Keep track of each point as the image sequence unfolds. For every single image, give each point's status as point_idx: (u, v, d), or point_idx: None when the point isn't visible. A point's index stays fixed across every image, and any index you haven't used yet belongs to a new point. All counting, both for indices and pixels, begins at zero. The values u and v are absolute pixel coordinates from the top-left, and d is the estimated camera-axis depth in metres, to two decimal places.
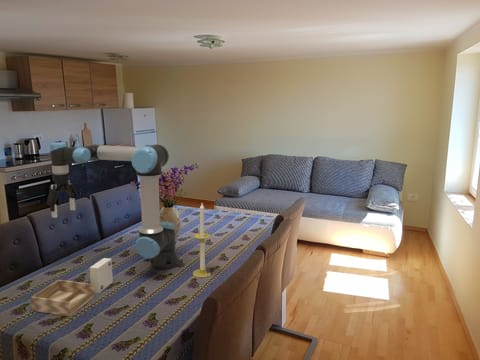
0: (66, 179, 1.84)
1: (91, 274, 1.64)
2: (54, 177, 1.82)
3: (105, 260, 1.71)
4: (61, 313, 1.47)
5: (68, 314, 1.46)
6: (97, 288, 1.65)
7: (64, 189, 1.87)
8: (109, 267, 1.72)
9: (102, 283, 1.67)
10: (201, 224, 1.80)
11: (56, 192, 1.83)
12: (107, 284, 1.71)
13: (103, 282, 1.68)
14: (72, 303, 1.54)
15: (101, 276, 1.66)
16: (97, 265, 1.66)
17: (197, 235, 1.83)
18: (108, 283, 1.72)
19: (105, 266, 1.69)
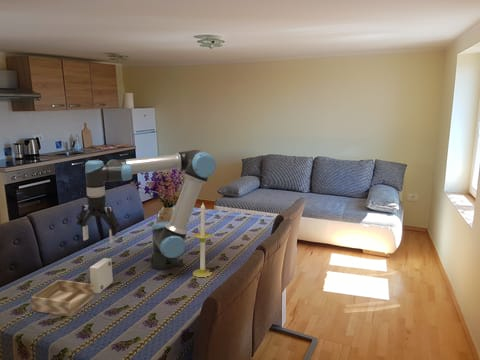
0: (90, 203, 1.59)
1: (91, 274, 1.64)
2: None
3: (105, 260, 1.71)
4: (61, 313, 1.47)
5: (68, 314, 1.46)
6: (97, 288, 1.65)
7: (96, 214, 1.63)
8: (109, 267, 1.72)
9: (102, 283, 1.67)
10: (202, 224, 1.80)
11: None
12: (107, 284, 1.71)
13: (103, 282, 1.68)
14: (72, 303, 1.54)
15: (101, 276, 1.66)
16: (97, 265, 1.66)
17: (198, 235, 1.83)
18: (108, 283, 1.72)
19: (105, 266, 1.69)
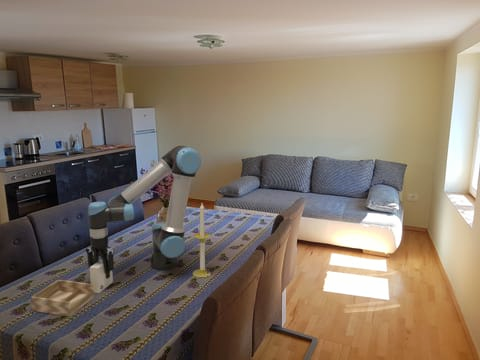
0: (93, 244, 1.63)
1: (91, 274, 1.64)
2: None
3: None
4: (61, 313, 1.47)
5: (68, 314, 1.46)
6: (97, 288, 1.65)
7: (99, 254, 1.66)
8: None
9: (102, 283, 1.67)
10: (201, 224, 1.80)
11: None
12: (107, 284, 1.71)
13: (103, 282, 1.68)
14: (72, 303, 1.54)
15: (101, 276, 1.66)
16: (97, 265, 1.66)
17: (197, 235, 1.83)
18: None
19: None
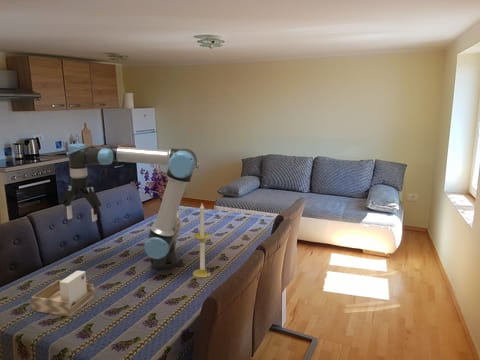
0: (73, 184, 1.70)
1: (61, 289, 1.48)
2: None
3: (77, 274, 1.55)
4: (61, 313, 1.47)
5: (68, 314, 1.46)
6: None
7: (79, 194, 1.73)
8: (82, 281, 1.56)
9: (74, 299, 1.51)
10: (201, 224, 1.80)
11: None
12: None
13: (76, 298, 1.52)
14: None
15: (73, 292, 1.50)
16: (68, 279, 1.50)
17: (197, 235, 1.83)
18: (81, 298, 1.56)
19: (77, 280, 1.53)
